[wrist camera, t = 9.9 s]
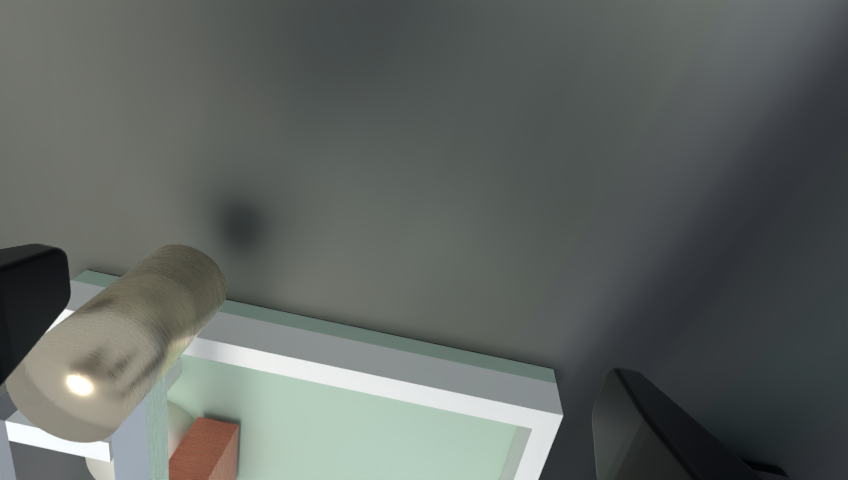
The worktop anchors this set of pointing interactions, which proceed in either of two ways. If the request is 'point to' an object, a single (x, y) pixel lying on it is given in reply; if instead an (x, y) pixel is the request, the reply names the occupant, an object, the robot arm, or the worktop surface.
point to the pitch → (328, 404)
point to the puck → (176, 432)
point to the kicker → (131, 370)
